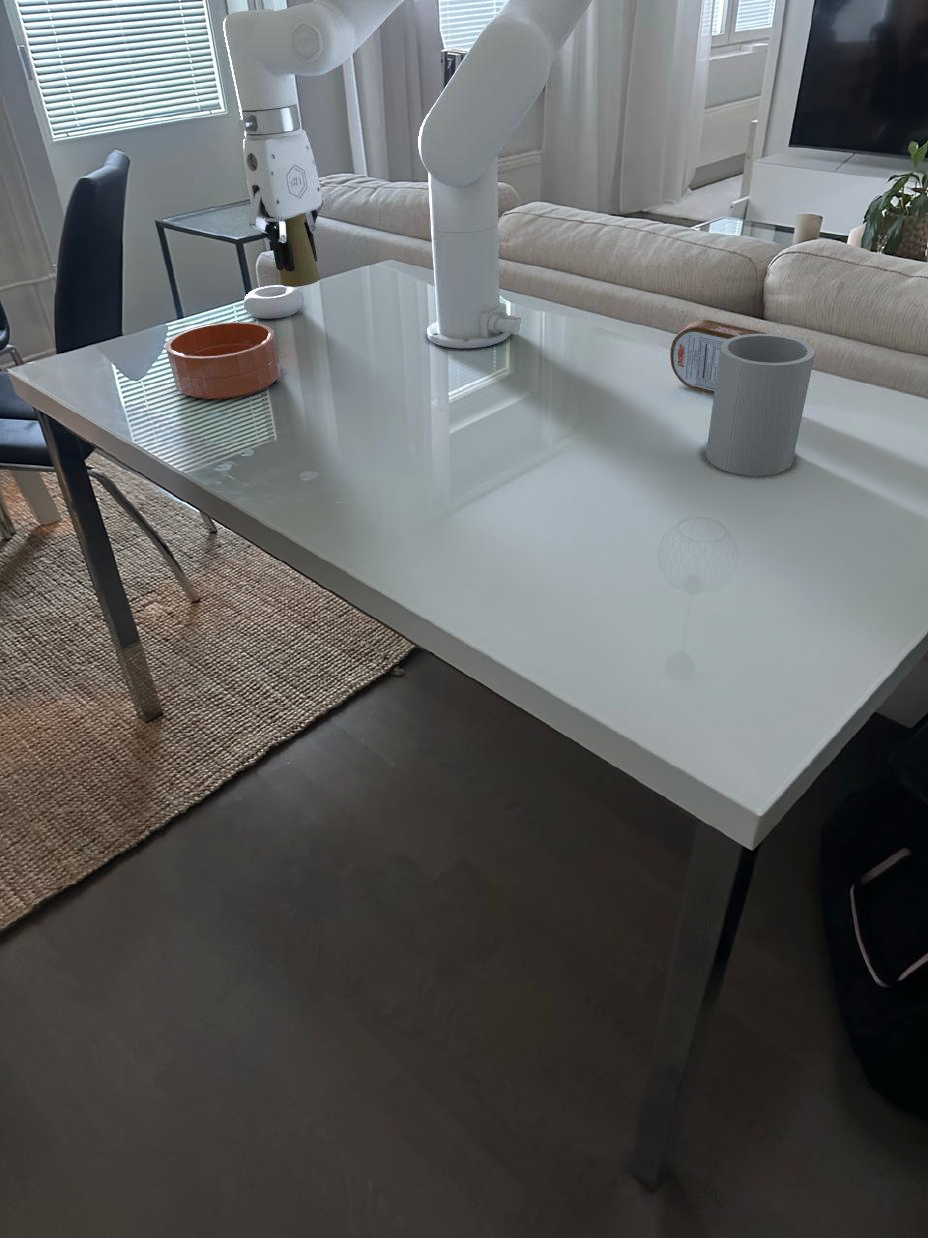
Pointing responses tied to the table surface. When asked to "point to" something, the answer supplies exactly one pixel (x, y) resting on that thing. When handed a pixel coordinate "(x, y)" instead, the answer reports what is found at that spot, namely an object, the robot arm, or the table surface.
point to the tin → (701, 352)
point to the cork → (299, 255)
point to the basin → (224, 360)
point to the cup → (758, 403)
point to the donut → (273, 302)
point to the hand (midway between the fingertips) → (297, 264)
